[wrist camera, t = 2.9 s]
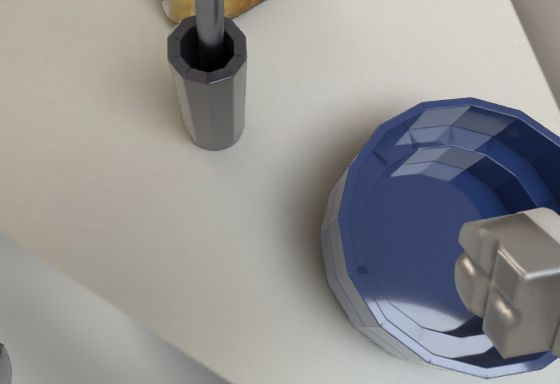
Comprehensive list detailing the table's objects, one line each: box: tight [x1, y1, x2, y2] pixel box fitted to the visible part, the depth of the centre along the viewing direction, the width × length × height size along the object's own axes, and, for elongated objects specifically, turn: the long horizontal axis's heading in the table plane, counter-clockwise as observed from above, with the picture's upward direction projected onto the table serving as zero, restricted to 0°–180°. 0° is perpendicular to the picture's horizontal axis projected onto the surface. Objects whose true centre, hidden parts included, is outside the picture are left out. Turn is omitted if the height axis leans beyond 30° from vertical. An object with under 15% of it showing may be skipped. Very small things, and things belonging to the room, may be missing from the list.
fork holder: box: [167, 15, 247, 151], centre depth 27 cm, size 4×4×9 cm
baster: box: [195, 0, 224, 73], centre depth 22 cm, size 4×4×19 cm
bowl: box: [320, 97, 560, 379], centre depth 28 cm, size 14×14×6 cm
